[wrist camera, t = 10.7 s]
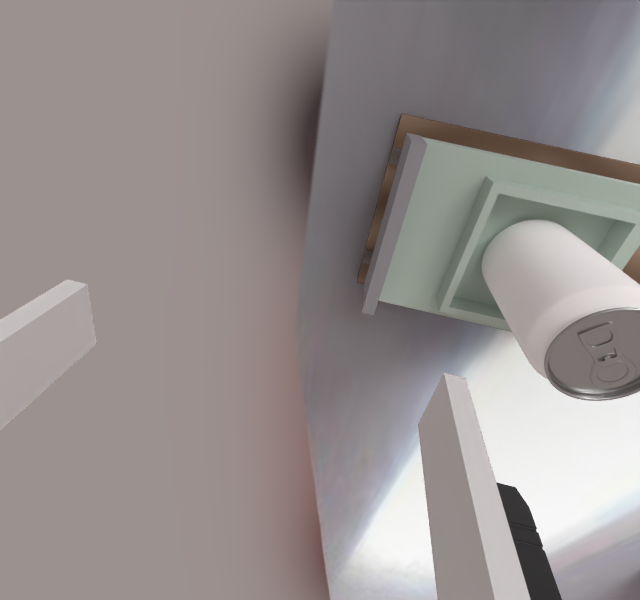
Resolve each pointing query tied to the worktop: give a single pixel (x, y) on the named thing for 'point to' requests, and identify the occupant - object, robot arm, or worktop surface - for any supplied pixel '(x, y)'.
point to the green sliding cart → (482, 224)
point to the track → (636, 266)
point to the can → (567, 309)
